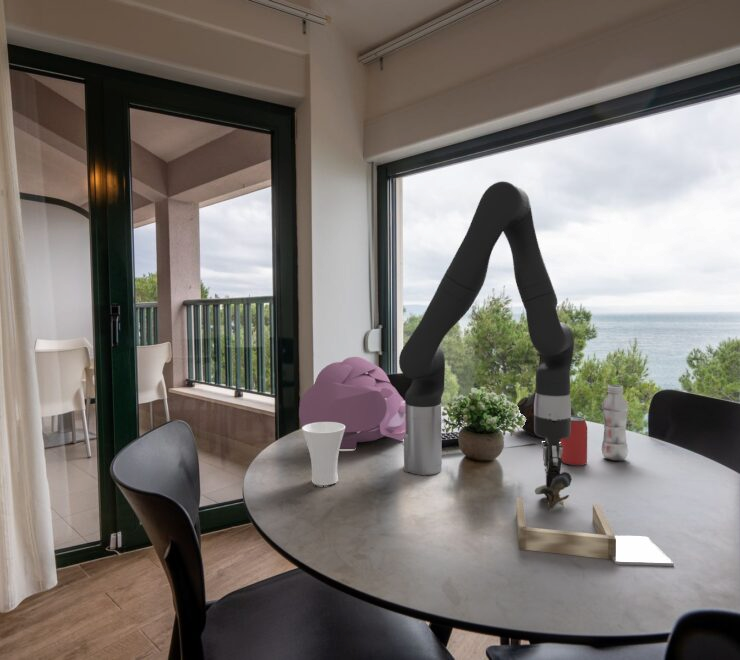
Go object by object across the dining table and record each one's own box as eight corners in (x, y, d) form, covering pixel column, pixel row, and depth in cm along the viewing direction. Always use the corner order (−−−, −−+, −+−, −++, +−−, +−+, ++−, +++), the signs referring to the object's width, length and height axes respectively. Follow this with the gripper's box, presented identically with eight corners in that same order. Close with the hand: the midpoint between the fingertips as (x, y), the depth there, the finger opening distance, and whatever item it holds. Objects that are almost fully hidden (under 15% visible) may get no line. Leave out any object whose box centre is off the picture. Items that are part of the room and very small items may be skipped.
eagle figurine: (579, 512, 97) (579, 486, 105) (560, 483, 97) (562, 459, 105) (544, 522, 101) (546, 497, 109) (526, 494, 101) (530, 470, 108)
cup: (355, 481, 118) (354, 426, 118) (322, 493, 111) (321, 435, 110) (326, 471, 126) (325, 419, 125) (294, 482, 118) (292, 427, 117)
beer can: (589, 467, 126) (590, 421, 125) (562, 465, 127) (563, 420, 126) (583, 459, 132) (584, 415, 132) (558, 458, 134) (558, 414, 133)
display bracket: (519, 549, 85) (519, 529, 85) (516, 514, 99) (516, 497, 98) (616, 559, 81) (616, 539, 81) (599, 522, 95) (599, 504, 94)
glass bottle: (511, 427, 167) (512, 345, 166) (566, 428, 165) (567, 345, 163) (520, 441, 149) (521, 350, 148) (581, 443, 147) (582, 350, 145)
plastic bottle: (602, 461, 130) (603, 387, 129) (600, 454, 136) (601, 383, 135) (629, 464, 127) (630, 388, 126) (626, 456, 134) (627, 384, 132)
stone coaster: (615, 564, 79) (615, 561, 79) (595, 537, 88) (595, 535, 88) (673, 566, 79) (673, 563, 79) (646, 539, 88) (647, 536, 88)
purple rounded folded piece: (370, 441, 170) (361, 360, 174) (429, 437, 157) (418, 350, 161) (300, 457, 142) (291, 361, 146) (365, 455, 128) (353, 349, 132)
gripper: (531, 406, 114) (531, 478, 115) (536, 420, 101) (536, 501, 102) (566, 407, 112) (565, 481, 113) (575, 421, 99) (574, 505, 100)
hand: (551, 490), depth 107 cm, fingers closed
